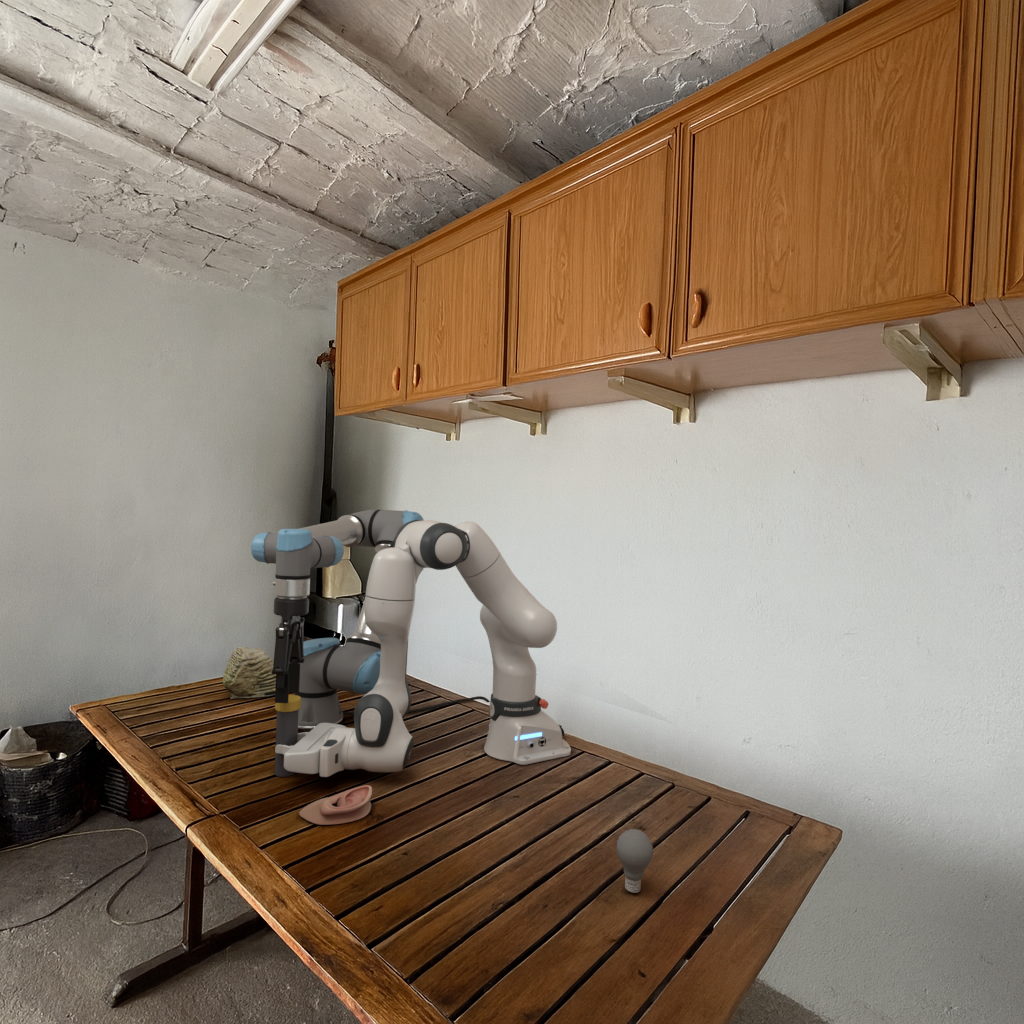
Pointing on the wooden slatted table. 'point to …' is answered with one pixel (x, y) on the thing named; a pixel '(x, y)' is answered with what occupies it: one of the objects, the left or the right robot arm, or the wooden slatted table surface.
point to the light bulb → (634, 857)
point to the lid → (289, 704)
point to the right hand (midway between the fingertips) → (282, 742)
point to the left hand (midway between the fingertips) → (287, 696)
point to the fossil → (249, 674)
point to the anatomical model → (339, 807)
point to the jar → (285, 738)
